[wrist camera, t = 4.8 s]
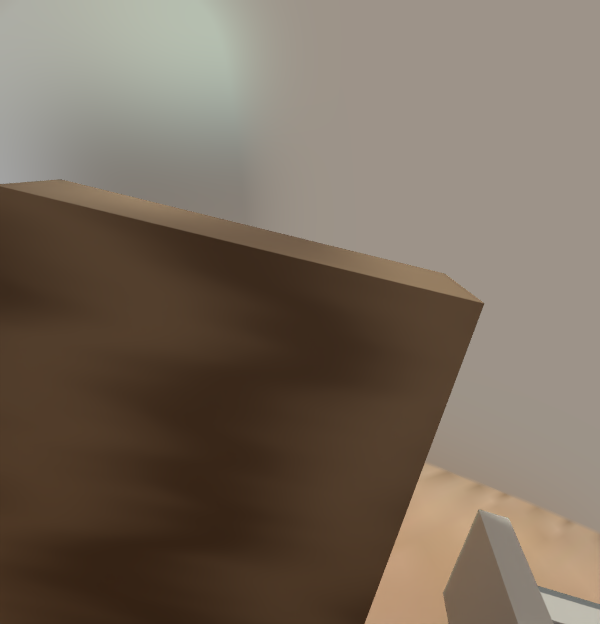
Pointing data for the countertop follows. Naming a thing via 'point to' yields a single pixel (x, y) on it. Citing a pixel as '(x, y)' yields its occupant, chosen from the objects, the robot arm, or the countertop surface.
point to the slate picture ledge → (570, 608)
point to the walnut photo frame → (206, 413)
